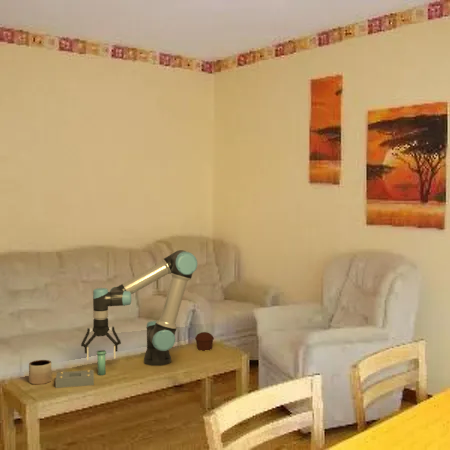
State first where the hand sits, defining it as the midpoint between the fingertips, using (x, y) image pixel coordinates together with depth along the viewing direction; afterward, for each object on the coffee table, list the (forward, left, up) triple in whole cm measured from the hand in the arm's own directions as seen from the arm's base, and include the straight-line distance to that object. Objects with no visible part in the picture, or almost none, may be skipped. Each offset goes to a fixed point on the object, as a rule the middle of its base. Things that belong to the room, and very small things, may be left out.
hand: (101, 358), depth 299 cm
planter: (+30, +5, -8) cm, 32 cm away
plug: (0, 0, -8) cm, 8 cm away
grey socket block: (+13, +11, -8) cm, 19 cm away
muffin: (-62, -37, -8) cm, 73 cm away
